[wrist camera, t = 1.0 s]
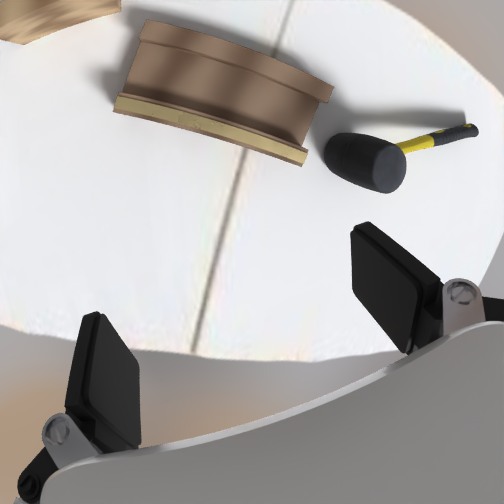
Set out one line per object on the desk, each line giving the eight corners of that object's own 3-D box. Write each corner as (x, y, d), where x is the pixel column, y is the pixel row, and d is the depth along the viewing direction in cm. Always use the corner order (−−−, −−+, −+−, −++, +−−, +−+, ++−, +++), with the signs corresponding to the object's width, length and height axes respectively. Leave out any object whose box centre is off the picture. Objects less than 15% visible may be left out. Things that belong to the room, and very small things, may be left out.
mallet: (465, 110, 37) (510, 122, 28) (466, 143, 40) (509, 160, 32) (317, 134, 34) (360, 149, 26) (324, 179, 37) (365, 206, 29)
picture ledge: (119, 111, 27) (111, 114, 24) (150, 26, 24) (147, 17, 20) (288, 160, 35) (301, 169, 31) (318, 85, 31) (335, 85, 27)
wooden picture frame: (24, 45, 20) (-16, 36, 12) (24, 22, 18) (-14, 8, 11) (121, 11, 22) (104, -15, 14) (120, -12, 20) (104, -43, 13)
